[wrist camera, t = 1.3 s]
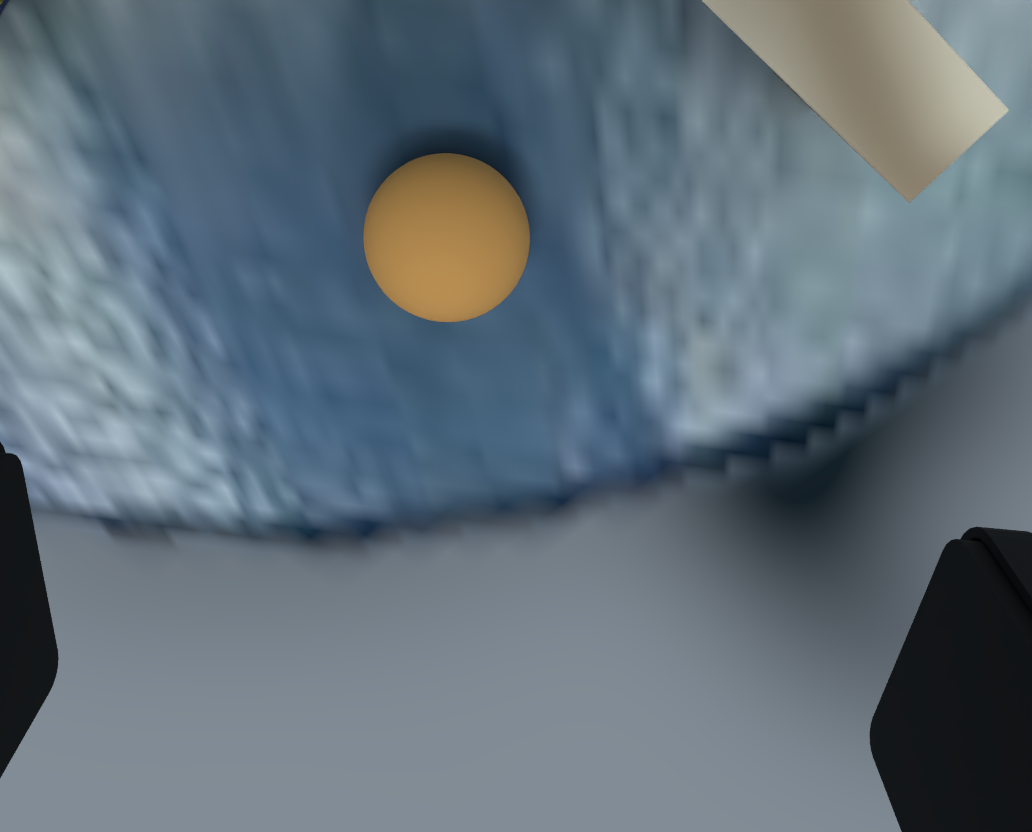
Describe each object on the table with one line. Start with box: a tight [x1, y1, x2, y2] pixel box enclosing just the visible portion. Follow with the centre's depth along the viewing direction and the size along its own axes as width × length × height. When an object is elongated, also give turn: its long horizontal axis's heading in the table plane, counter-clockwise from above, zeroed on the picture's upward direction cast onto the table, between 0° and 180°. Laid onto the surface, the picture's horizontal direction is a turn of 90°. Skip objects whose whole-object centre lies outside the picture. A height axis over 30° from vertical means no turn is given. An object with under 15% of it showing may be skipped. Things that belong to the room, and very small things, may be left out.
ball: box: [363, 153, 530, 322], centre depth 31 cm, size 6×6×6 cm
